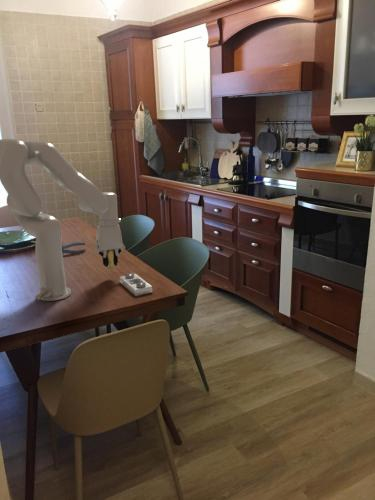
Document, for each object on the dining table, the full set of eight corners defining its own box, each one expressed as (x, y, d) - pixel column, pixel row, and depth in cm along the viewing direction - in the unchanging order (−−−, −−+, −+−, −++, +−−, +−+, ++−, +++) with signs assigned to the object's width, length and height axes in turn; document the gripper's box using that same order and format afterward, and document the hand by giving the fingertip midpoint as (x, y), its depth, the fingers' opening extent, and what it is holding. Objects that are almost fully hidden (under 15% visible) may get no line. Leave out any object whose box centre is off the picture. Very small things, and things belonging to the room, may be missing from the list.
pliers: (45, 258, 215) (44, 247, 214) (45, 257, 217) (43, 245, 215) (86, 252, 223) (85, 241, 221) (85, 251, 224) (84, 240, 223)
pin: (112, 269, 182) (112, 250, 180) (105, 268, 183) (104, 250, 181) (115, 267, 186) (115, 248, 184) (108, 266, 186) (107, 248, 184)
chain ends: (152, 292, 169) (151, 283, 168) (135, 296, 166) (134, 287, 165) (135, 279, 183) (135, 271, 182) (120, 282, 180) (119, 274, 179)
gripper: (124, 219, 186) (125, 260, 191) (86, 222, 179) (88, 265, 183) (130, 222, 180) (132, 265, 185) (91, 226, 172) (93, 270, 177)
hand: (110, 265), depth 184 cm, fingers closed on pin, 3 cm apart
